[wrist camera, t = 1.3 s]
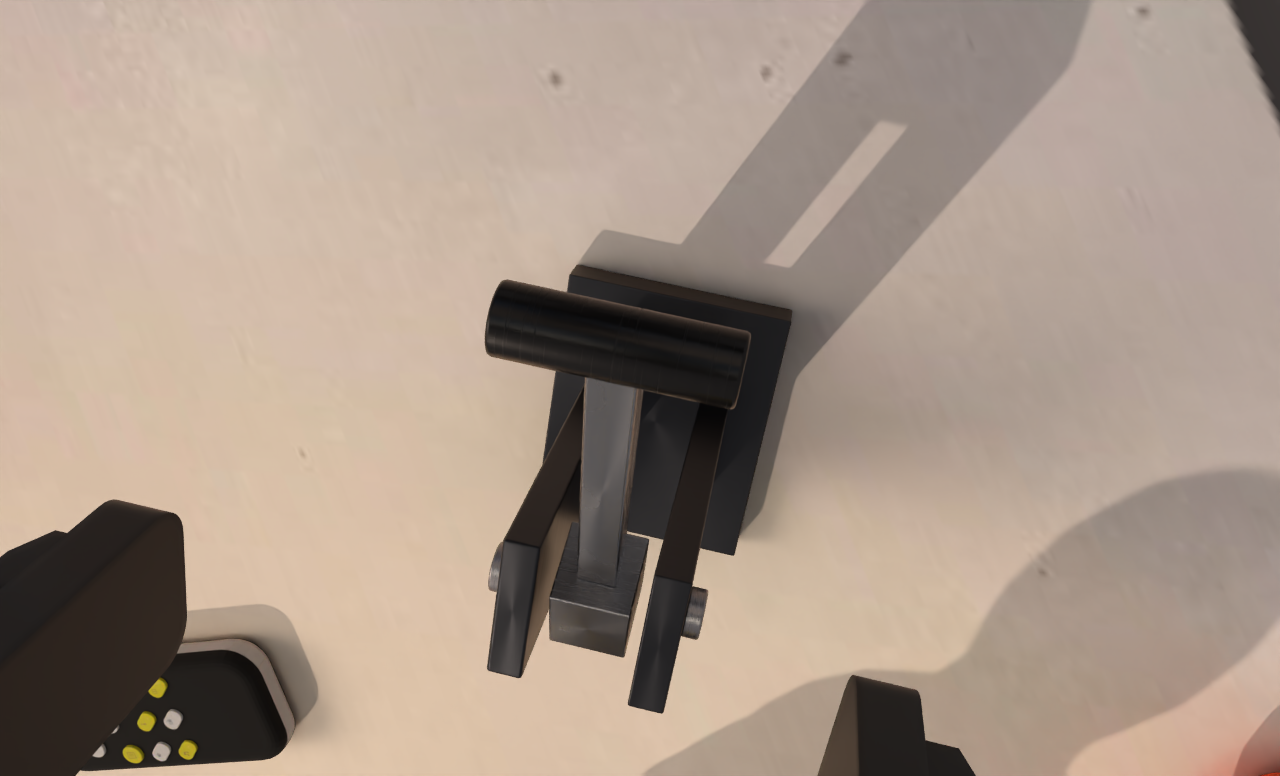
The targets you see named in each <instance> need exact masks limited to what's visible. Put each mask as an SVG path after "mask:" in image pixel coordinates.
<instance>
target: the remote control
mask: <svg viewBox="0 0 1280 776" xmlns="http://www.w3.org/2000/svg"><path fill="white" fill-rule="evenodd" d="M294 725H295V721H294V718H293V714H292V712H291V710H290V707H289V705H288V703H287V700H286V698H285V696H284V693H283V691H282V689H281V686H280V684H279V682H278V679H277V677H276V675H275V673H274V670H273V668H272V666H271V663H270V661H269V659H268V657H267V656H266V654H265V653H264V652H263V651H262V650H261V649H260V648H259V647H257V646H256V645H255V644H253V643H251V642H248V641H245V640H241V639H224V640H214V641H203V642H193V643H182V644H181V645H180V647H179V650H178V652H177V654H176V656H175V658H174V660H173V661H172V663H171V664H170V666H169V667H168V668H167V670H166V671H165V672H164V673H163V674H162V676H161V677H160V678H159V679H158V680H157V681H156V683H155V684H154V685H153V686H152V687H151V688H150V690H149V691H148V692H147V693H146V694H145V695H144V697H143V698H142V699H141V700H140V701H139V702H138V704H137V705H136V706H135V707H134V708H133V709H132V710H131V712H130V713H129V714H128V715H127V716H126V717H125V719H124V720H123V721H122V722H121V723H120V724H119V726H118V727H117V728H116V729H115V730H114V731H113V733H112V734H111V735H110V736H109V737H108V738H107V740H106V741H105V742H104V743H103V744H102V745H101V746H100V748H99V749H98V750H97V751H96V752H95V753H94V755H93V756H92V757H91V758H90V759H89V760H88V762H87V763H86V764H85V765H84V766H83V767H82V769H81V770H82V771H98V770H114V769H130V768H145V767H161V766H177V765H193V764H209V763H225V762H240V761H256V760H265V759H271V758H273V757H275V756H276V755H278V754H279V753H280V752H281V751H282V750H283V749H284V748H285V747H286V745H287V744H288V742H289V741H290V739H291V737H292V735H293V732H294Z"/></svg>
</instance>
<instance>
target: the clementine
mask: <svg viewBox="0 0 1280 776" xmlns="http://www.w3.org/2000/svg"><path fill="white" fill-rule="evenodd" d="M1260 776H1280V773H1270V774H1265V775H1260Z"/></svg>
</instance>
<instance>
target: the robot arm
mask: <svg viewBox="0 0 1280 776" xmlns="http://www.w3.org/2000/svg"><path fill="white" fill-rule="evenodd" d="M186 621H187V604H186V581H185V558H184V535H183V526H182V522H181V520H180V518H179V517H178V516H177V515H176V514H174V513H171V512H167V511H162V510H158V509H154V508H150V507H145V506H141V505H137V504H133V503H128V502H124V501H120V500H109V501H107V502H105V503H103V504H102V505H101V506H99V507H98V508H97V509H96V510H94V511H93V512H92V513H91V514H90V515H88V516H87V517H86V518H85V519H84V520H82V521H81V522H80V523H79V524H78V525H76V526H75V527H74V528H73V529H72V530H70V531H69V532H68V533H64V532H60V531H56V530H55V531H53V532H51V533H48V534H46V535H44V536H42V537H39V538H37V539H35V540H32V541H30V542H28V543H26V544H23V545H21V546H19V547H16V548H14V549H12V550H9V551H8V552H6V553H5V554H4V555H3V556H1V557H0V776H76V774H77V773H78V772H79V771H80V770H81V769H82V767H83V766H84V765H85V764H86V763H87V762H88V760H89V759H90V758H91V757H92V756H93V755H94V753H95V752H96V751H97V750H98V749H99V748H100V746H101V745H102V744H103V743H104V742H105V741H106V740H107V738H108V737H109V736H110V735H111V734H112V733H113V731H114V730H115V729H116V728H117V727H118V726H119V724H120V723H121V722H122V721H123V720H124V719H125V717H126V716H127V715H128V714H129V713H130V712H131V710H132V709H133V708H134V707H135V706H136V705H137V704H138V702H139V701H140V700H141V699H142V698H143V697H144V695H145V694H146V693H147V692H148V691H149V690H150V688H151V687H152V686H153V685H154V684H155V683H156V681H157V680H158V679H159V678H160V677H161V676H162V674H163V673H164V672H165V671H166V670H167V668H168V667H169V666H170V664H171V663H172V661H173V660H174V658H175V656H176V654H177V652H178V650H179V647H180V645H181V642H182V639H183V636H184V633H185V628H186ZM818 776H976V775H975V774H974V772H973V771H972V769H971V767H970V766H969V764H968V763H967V761H966V759H965V758H964V756H963V754H962V753H961V751H960V750H959V748H955V747H951V746H946V745H942V744H938V743H934V742H930V741H925V733H924V724H923V715H922V706H921V699H920V695H919V692H918V691H917V690H915V689H910V688H906V687H902V686H898V685H893V684H889V683H885V682H881V681H876V680H872V679H868V678H864V677H859V676H855V675H852V676H851V677H850V679H849V680H848V683H847V685H846V688H845V691H844V694H843V697H842V700H841V703H840V707H839V710H838V713H837V716H836V719H835V722H834V725H833V728H832V732H831V735H830V738H829V741H828V744H827V747H826V750H825V754H824V757H823V760H822V763H821V766H820V769H819V773H818Z"/></svg>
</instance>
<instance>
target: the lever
mask: <svg viewBox="0 0 1280 776" xmlns="http://www.w3.org/2000/svg"><path fill="white" fill-rule="evenodd" d="M750 340H751V333H749V332H748V331H745V330H740V329H736V328H731V327H726V326H722V325H717V324H712V323H708V322H703V321H698V320H694V319H689V318H684V317H680V316H675V315H670V314H666V313H661V312H656V311H652V310H647V309H642V308H638V307H633V306H628V305H624V304H619V303H614V302H610V301H605V300H600V299H596V298H591V297H587V296H582V295H577V294H573V293H568V292H563V291H559V290H554V289H549V288H545V287H540V286H535V285H531V284H526V283H521V282H517V281H512V280H503V281H502V282H501V283H500V284H499V286H498V287H497V289H496V291H495V293H494V296H493V298H492V301H491V305H490V308H489V312H488V317H487V322H486V329H485V348H486V352H487V354H488V355H490V356H491V357H495V358H499V359H504V360H508V361H513V362H517V363H522V364H527V365H531V366H536V367H540V368H545V369H549V370H554V371H558V372H563V373H567V374H572V375H576V376H581V377H585V388H584V412H583V436H582V459H581V483H580V507H579V523H578V522H574V521H573V522H572V523H571V527H570V530H569V533H568V537H567V540H566V543H565V546H564V550H563V553H562V556H561V560H560V563H559V566H558V570H557V573H556V576H555V580H554V583H553V586H552V590H551V593H550V596H549V638H550V640H552V641H557V642H561V643H565V644H569V645H573V646H577V647H581V648H586V649H590V650H594V651H598V652H602V653H606V654H610V655H615V656H619V657H624V656H625V653H626V649H627V645H628V640H629V636H630V632H631V628H632V624H633V620H634V616H635V612H636V608H637V604H638V600H639V596H640V591H641V587H642V583H643V576H644V570H645V563H646V557H647V551H648V544H649V539H647V538H643V537H639V536H634V535H630V534H627V526H628V517H629V509H630V500H631V492H632V484H633V475H634V467H635V458H636V450H637V441H638V433H639V424H640V416H641V407H642V399H643V390H644V391H649V392H653V393H658V394H662V395H667V396H671V397H676V398H680V399H685V400H689V401H694V402H699V403H703V404H708V405H712V406H717V407H721V408H726V409H734V408H735V406H736V403H737V399H738V395H739V391H740V387H741V382H742V378H743V373H744V369H745V364H746V360H747V355H748V350H749V346H750Z"/></svg>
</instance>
